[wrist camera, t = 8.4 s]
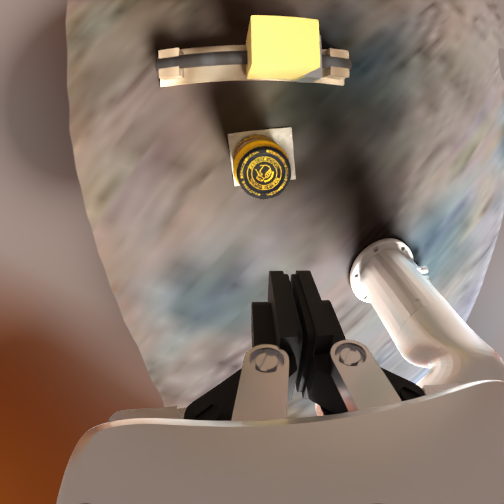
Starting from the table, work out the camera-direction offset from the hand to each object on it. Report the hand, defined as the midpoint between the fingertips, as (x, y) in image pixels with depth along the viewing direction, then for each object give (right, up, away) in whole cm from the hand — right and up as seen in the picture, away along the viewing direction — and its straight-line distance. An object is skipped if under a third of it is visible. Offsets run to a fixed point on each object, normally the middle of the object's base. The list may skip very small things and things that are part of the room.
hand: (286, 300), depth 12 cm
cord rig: (-1, +26, +19) cm, 32 cm away
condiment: (0, +15, +25) cm, 29 cm away
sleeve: (+1, +26, +17) cm, 31 cm away
